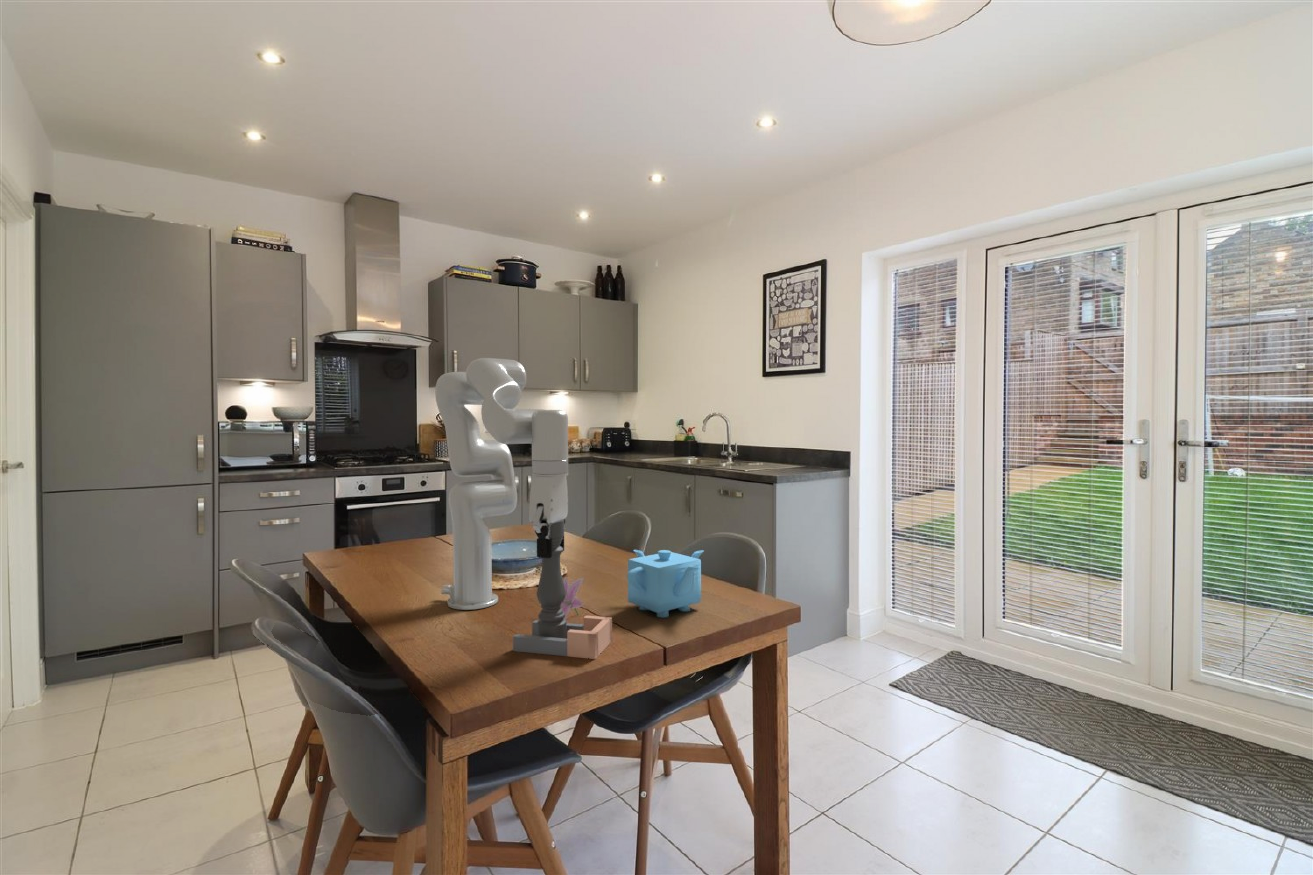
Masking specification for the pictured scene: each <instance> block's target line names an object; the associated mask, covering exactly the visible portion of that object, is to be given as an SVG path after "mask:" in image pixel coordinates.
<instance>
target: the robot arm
mask: <svg viewBox="0 0 1313 875" xmlns="http://www.w3.org/2000/svg"><path fill="white" fill-rule="evenodd" d="M526 383H527V372H526V369H525V368H524V366H523V365H522V363H520V362H519V361H517V360H514V359H506V358H495V357H493V358H492V357H480V358H477V359H474V360H472V361H471V362H470V363H469V364H468V365H467V367H466V370H465V371H452V372H447V373H443V374H441V375H440V377H438V378H437V381H436V383H435V391H434V393H435V402H436V406H437V407H436V408H437V410H438V412H439V414H440V417H441V420H442V422H443V424H444V428H445V437H446V444H447V453H448V459H449V466H450V469H451V472H452V473H453V474H454V475H455V476H457V477H459V478H471V477H485V476H486V477H487V476H490V478H491V479H487V480H473V481H472V480H471V481H469V480H468V481H463V482H460V483H457V484H455V485H454V486H453V487H451V489H450V490H449V493H448V506H449V507H448V508H449V511H450V516H451V517H450V518H451V525H452V545H453V546H452V549H453V550H452V551H453V552H452V554H453V558H452V559H453V561H452V562H453V565H452V566H453V570H452V571H453V585H452V584H443V585H442V588H441V590H440V592H441V594H442V595H448V596H449V598H447V606H448V607H449V608H451V609H453V610H458V611H459V610H462V611H463V610H464V611H466V610H467V611H469V610H479V609H484V608H485V609H486V608H489V607H491V606H493V605H496V604H497V603H498V602H499V596H498V594H496V593H493V581H492V580H493V579H492V578H493V577H492V576H493V574H492V573H493V570H492V569H493V568H492V567H493V566H492V561H493V560H492V554H493V553H492V534H491V531H490V528H489V527H488V526H487V525H486V523H484V520H483V518H487V517H488V518H489V517H495V516H504V515H508V514H509V515H510V514H511V513H513V511H515V510H516V507H517V504H518V491H517V484H516V477H515V469H514V465H513V457H512V453H511V451H510V448H509V446H508V445H519V444H521V445H522V444H523V445H524V444H530V445H531V476H532V478H531V485H530V494H529V509H528V510H529V513H528V517H529V518H528V519H529V522H530V524H532V525H531V526H532V528H533V531H534V533H535V539H536V557H537V558H539V559H540V558H541V559H542V558H551V557H552V538H550V535H551V527H552V524H553V523H555V522H558V521H560V520H562V519H563V520H564V533H565V532H566V528H565V527H566V526H565V524H566V519H567V517H568V514H569V494H568V493H569V491H568V490H569V489H568V481H567V477H568V476H569V418H568V414H567V412H566V411H565V410H560V409H539V408H532V409H531V408H516V407H517V406H518V405H519V403H520V400H521V398H522V391H523V390H524V388H525V387H526ZM465 405H468V406H469V405H471V406H472V405H473V406H481V409H480V410H481V411H480V412H481V413H480V414H481V419H482V423H483V426H484V428H485V429H486V431H487V432H488V433H489V434H490V436H491V437H492V438H493V439H486V440H484V439H483V438H482V437H481V431H480V425H479V421H478V420H477V418H476V417H475V416H474V414H473V413H472V412H471V411H470V410H469V409H468V408H467V407H466V406H465ZM542 520H543V521H546V522H547V523H541V522H542ZM542 526H544V527H547V529H546V530H545V528H544V527H542ZM560 546H561V547H562V548H563V552H564V551H565V535H564V536H563V540H562V541H561V544H560Z"/></svg>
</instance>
